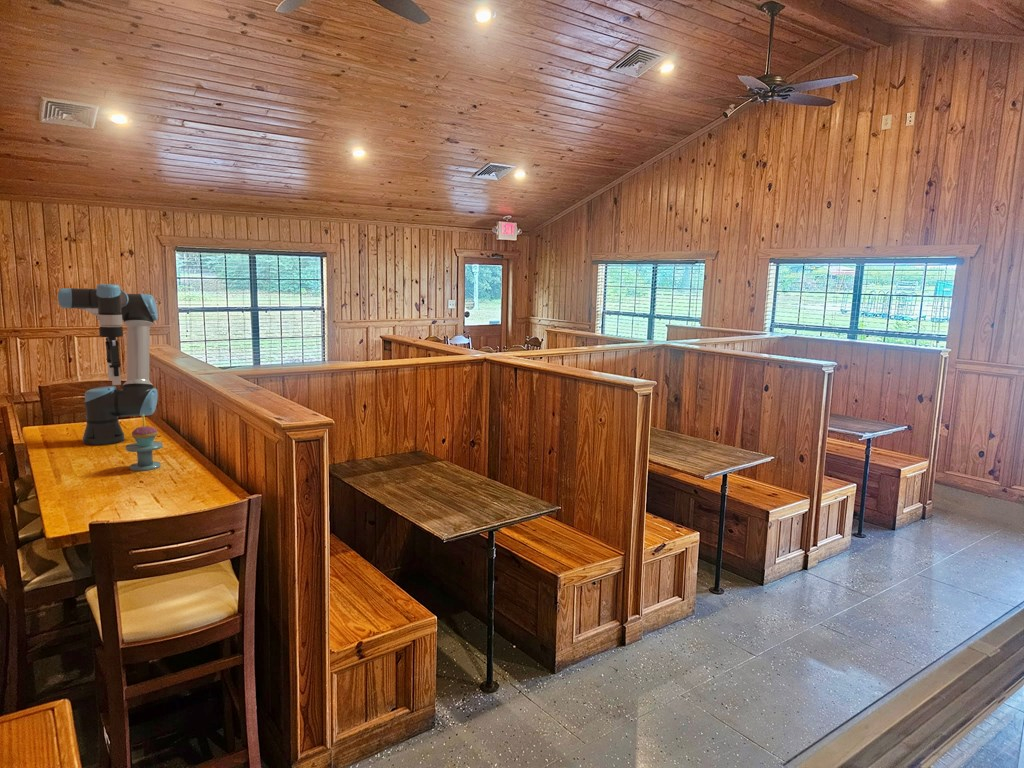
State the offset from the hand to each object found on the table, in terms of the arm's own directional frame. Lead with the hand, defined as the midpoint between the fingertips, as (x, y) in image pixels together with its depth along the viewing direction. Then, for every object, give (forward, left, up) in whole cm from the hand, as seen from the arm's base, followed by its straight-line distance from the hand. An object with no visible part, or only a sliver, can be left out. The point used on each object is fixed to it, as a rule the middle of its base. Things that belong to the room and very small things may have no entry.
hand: (114, 382), depth 246 cm
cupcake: (+15, +7, -22) cm, 28 cm away
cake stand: (+15, +7, -31) cm, 35 cm away
